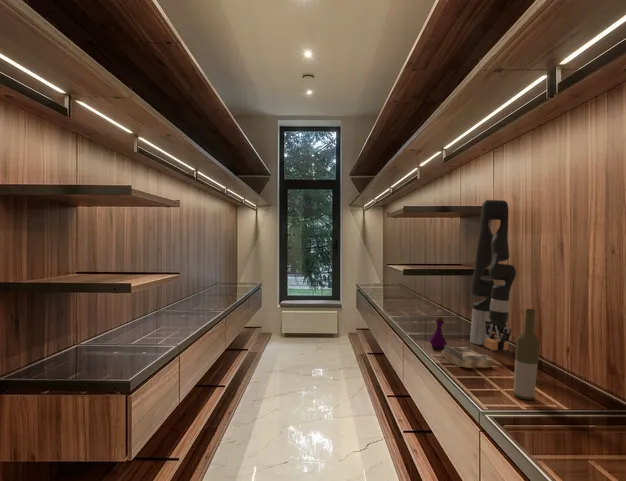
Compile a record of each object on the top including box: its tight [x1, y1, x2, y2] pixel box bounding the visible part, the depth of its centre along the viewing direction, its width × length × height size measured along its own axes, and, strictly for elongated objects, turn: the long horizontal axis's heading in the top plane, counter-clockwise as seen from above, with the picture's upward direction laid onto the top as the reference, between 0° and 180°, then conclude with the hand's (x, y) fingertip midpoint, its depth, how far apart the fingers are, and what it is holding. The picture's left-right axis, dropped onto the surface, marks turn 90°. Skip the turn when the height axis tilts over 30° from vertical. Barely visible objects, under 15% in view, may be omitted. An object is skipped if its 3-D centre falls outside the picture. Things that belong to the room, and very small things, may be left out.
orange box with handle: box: [483, 337, 509, 352], centre depth 174 cm, size 8×5×5 cm, turn 104°
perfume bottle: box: [428, 309, 448, 350], centre depth 190 cm, size 8×8×18 cm
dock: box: [440, 345, 493, 369], centre depth 171 cm, size 15×14×6 cm
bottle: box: [512, 308, 541, 401], centre depth 135 cm, size 7×7×30 cm
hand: (495, 347), depth 174 cm, fingers closed on orange box with handle, 5 cm apart
